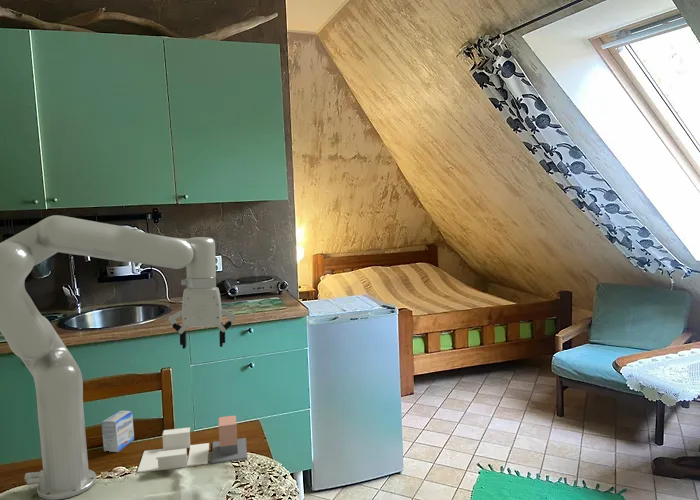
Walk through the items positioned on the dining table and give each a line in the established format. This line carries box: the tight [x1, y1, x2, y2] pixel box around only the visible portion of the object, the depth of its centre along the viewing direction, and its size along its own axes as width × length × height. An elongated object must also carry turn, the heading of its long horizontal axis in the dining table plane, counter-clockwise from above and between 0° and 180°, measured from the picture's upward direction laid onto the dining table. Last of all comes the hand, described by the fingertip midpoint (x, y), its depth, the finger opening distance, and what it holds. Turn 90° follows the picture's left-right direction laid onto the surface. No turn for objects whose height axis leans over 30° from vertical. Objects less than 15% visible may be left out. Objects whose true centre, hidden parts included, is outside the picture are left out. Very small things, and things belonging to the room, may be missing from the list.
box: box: [218, 415, 238, 456], centre depth 147 cm, size 4×6×8 cm
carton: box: [137, 426, 210, 474], centre depth 145 cm, size 17×16×4 cm
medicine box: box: [101, 410, 135, 453], centre depth 153 cm, size 8×4×9 cm, turn 169°
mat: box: [211, 437, 248, 465], centre depth 148 cm, size 9×12×1 cm
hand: (203, 346), depth 148 cm, fingers open, 9 cm apart
